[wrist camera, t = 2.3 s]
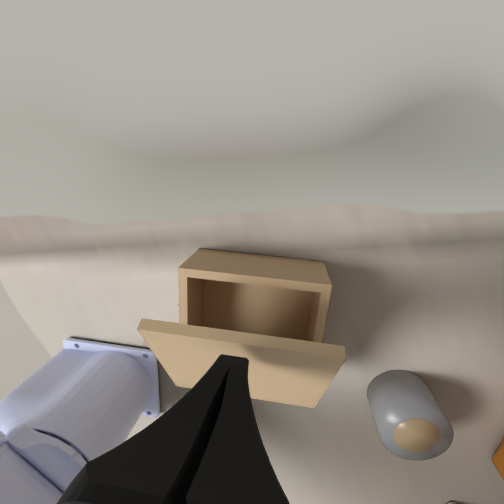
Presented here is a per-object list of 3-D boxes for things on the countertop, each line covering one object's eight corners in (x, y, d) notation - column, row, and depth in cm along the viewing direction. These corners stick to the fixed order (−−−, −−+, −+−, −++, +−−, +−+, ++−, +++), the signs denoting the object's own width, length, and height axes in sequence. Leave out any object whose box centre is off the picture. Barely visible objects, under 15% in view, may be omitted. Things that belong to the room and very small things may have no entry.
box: (198, 341, 25) (180, 377, 21) (199, 248, 22) (178, 267, 18) (308, 357, 24) (312, 398, 20) (323, 261, 21) (332, 285, 17)
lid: (178, 377, 21) (176, 386, 20) (141, 318, 14) (137, 329, 14) (314, 399, 20) (314, 408, 19) (344, 346, 13) (345, 358, 13)
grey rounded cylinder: (362, 410, 25) (374, 454, 21) (372, 365, 24) (388, 404, 20) (419, 419, 25) (443, 466, 21) (434, 374, 23) (462, 415, 19)
